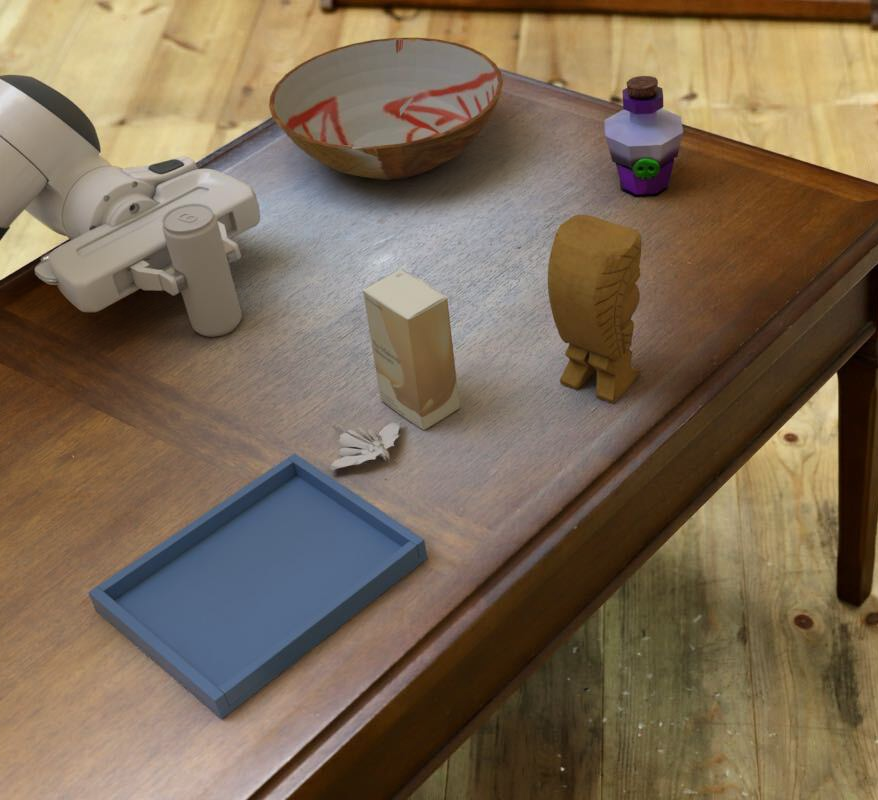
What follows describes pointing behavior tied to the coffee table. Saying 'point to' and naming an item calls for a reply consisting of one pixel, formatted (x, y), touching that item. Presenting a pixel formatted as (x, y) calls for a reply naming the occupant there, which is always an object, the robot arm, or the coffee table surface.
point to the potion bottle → (643, 139)
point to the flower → (365, 445)
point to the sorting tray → (257, 582)
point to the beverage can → (202, 268)
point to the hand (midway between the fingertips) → (207, 270)
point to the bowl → (387, 105)
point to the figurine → (595, 301)
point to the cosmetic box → (412, 347)
